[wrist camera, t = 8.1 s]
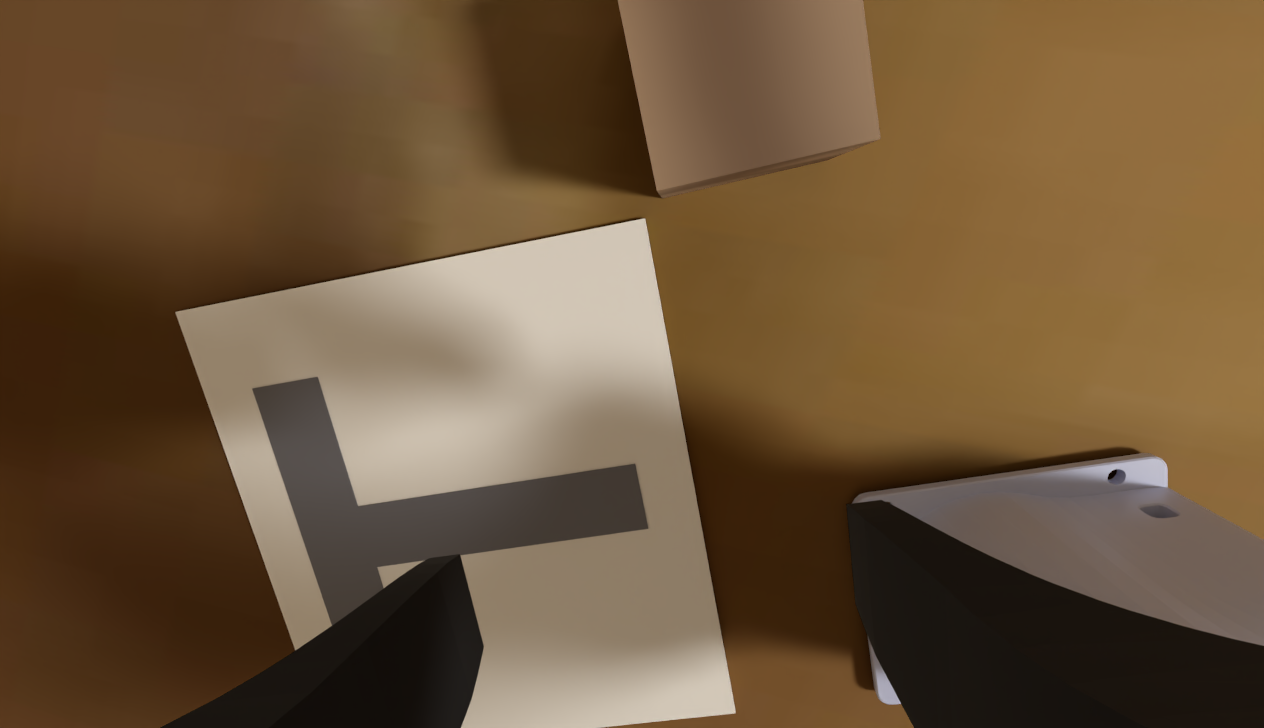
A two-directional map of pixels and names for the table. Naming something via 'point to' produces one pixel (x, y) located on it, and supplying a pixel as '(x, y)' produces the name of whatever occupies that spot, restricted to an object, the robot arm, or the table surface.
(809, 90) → the wooden cube
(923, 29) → the table surface
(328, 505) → the board
